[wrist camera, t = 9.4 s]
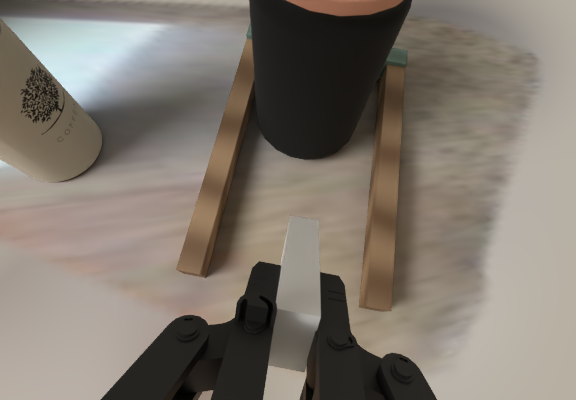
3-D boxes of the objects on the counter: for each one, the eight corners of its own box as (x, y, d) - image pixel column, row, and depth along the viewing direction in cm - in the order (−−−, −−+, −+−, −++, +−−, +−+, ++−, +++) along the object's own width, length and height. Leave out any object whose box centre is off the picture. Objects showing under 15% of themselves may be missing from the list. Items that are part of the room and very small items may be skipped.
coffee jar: (314, 69, 37) (353, -137, 20) (372, 133, 34) (472, -43, 17) (238, 109, 34) (208, -89, 18) (293, 182, 32) (321, 31, 15)
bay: (381, 311, 28) (393, 311, 25) (183, 273, 28) (174, 268, 25) (397, 70, 38) (407, 50, 35) (251, 43, 38) (250, 21, 35)
